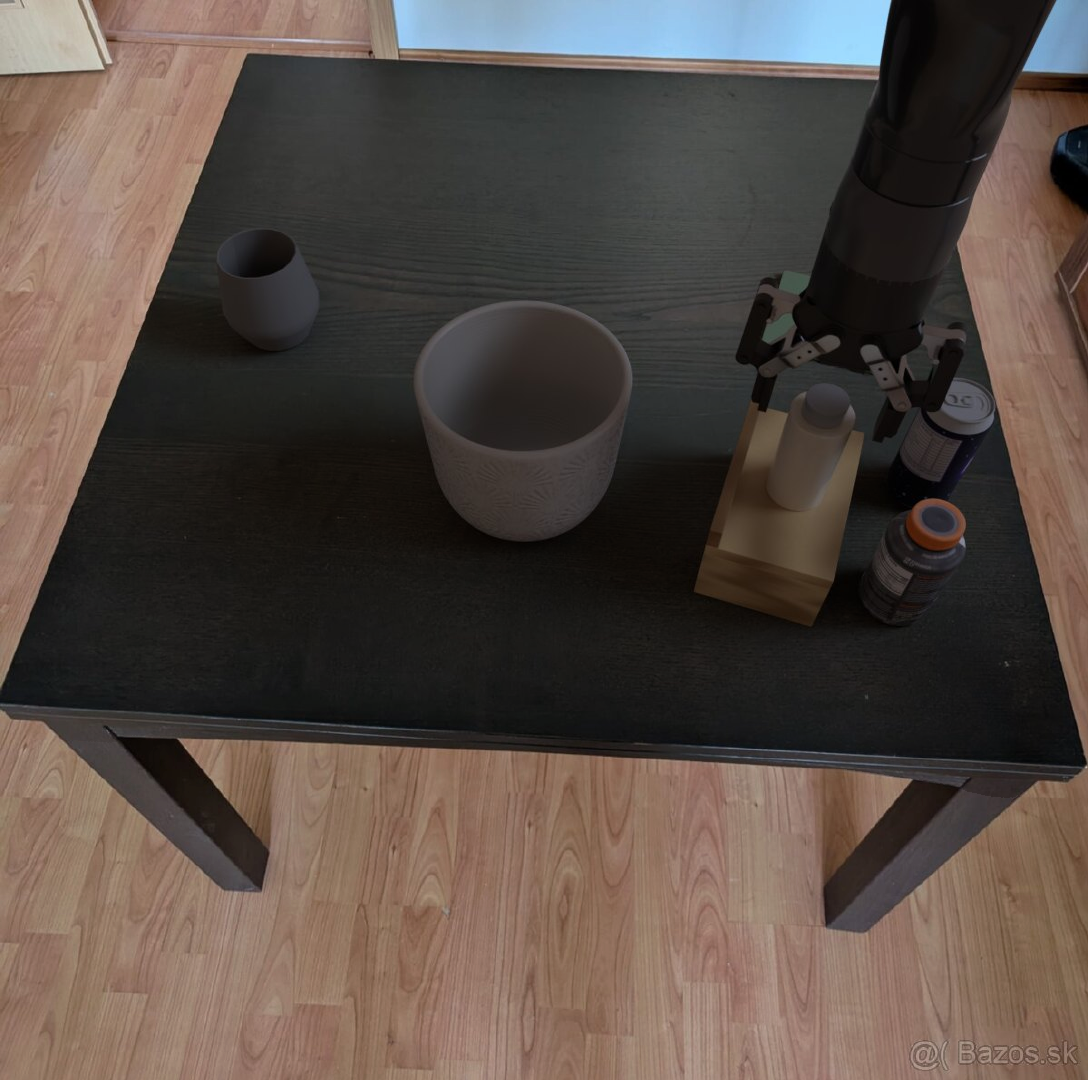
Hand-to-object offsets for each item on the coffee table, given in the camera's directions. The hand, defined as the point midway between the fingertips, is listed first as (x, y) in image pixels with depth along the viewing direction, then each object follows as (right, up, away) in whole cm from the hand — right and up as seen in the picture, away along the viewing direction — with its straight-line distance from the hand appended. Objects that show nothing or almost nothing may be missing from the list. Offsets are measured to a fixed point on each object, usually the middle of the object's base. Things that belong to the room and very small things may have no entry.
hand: (820, 418), depth 70 cm
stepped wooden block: (-1, -9, +13) cm, 15 cm away
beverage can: (+13, -5, +16) cm, 21 cm away
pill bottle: (+9, -14, +9) cm, 19 cm away
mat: (+9, +14, +28) cm, 33 cm away
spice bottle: (0, -5, +7) cm, 8 cm away
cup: (-48, +12, +27) cm, 56 cm away
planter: (-22, -5, +15) cm, 28 cm away
